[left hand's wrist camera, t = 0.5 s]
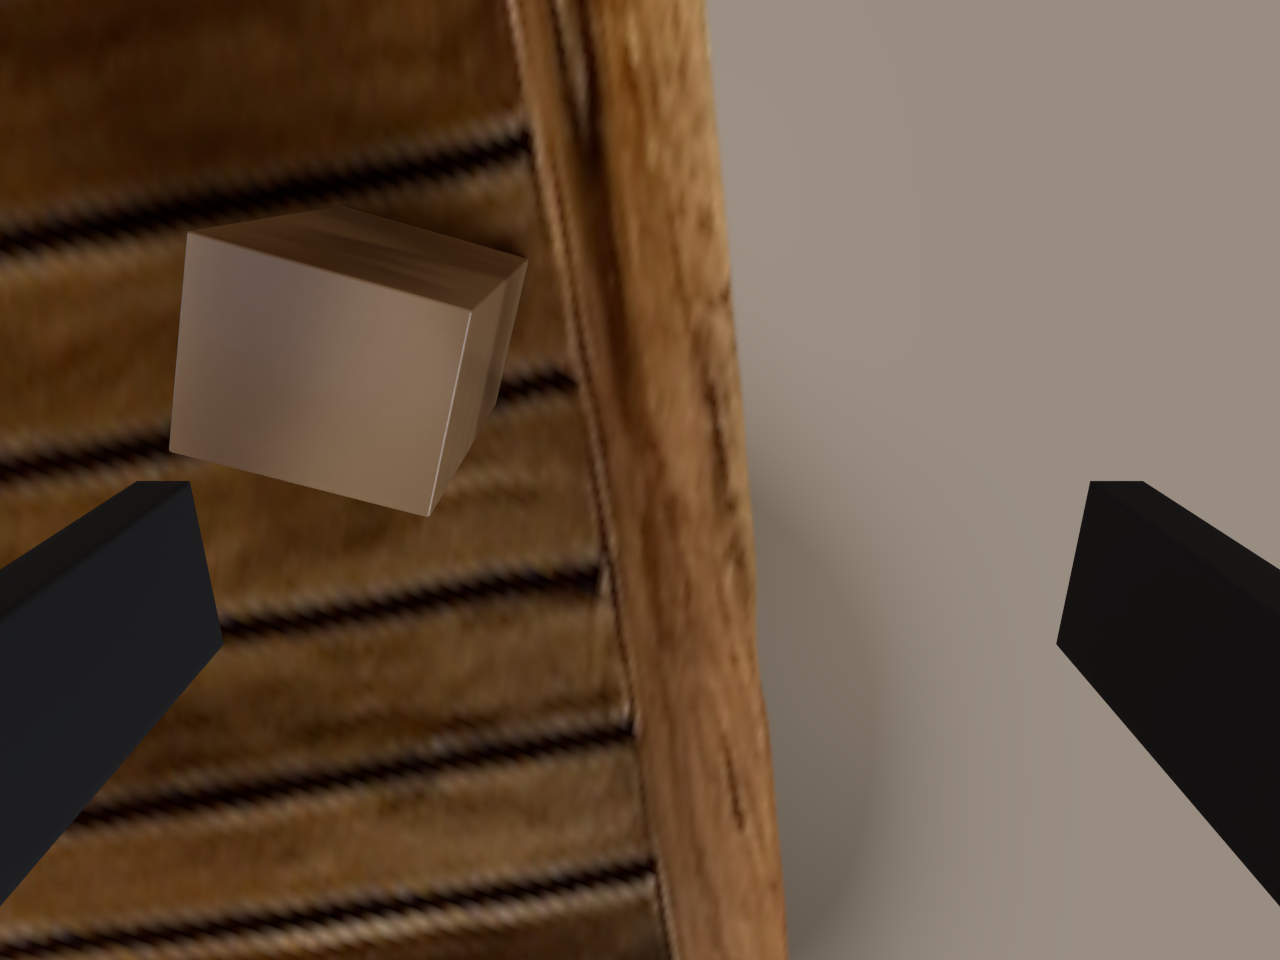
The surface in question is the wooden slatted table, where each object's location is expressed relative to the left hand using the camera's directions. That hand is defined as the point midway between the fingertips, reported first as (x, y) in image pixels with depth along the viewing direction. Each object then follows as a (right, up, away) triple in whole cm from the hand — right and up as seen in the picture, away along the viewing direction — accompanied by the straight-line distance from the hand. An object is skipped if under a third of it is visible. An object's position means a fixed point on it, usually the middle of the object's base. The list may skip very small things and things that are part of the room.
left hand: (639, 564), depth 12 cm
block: (-8, +8, +20) cm, 23 cm away
